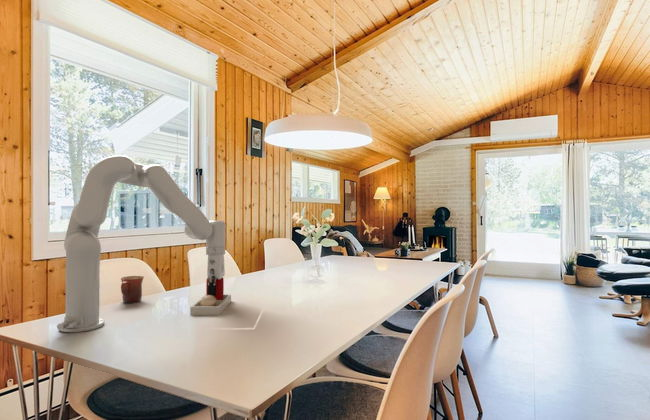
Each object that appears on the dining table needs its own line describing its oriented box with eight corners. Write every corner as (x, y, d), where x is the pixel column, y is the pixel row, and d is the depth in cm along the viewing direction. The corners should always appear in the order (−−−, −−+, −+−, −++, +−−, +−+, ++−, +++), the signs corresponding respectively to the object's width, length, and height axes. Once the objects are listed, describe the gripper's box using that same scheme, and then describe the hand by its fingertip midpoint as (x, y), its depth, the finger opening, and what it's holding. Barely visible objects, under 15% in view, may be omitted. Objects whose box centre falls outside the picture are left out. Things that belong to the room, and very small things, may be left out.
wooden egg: (214, 313, 140) (214, 297, 140) (198, 313, 140) (198, 297, 140) (218, 308, 146) (218, 293, 146) (203, 308, 146) (203, 293, 146)
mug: (127, 299, 164) (127, 275, 164) (147, 299, 163) (147, 275, 163) (111, 306, 152) (111, 280, 152) (132, 306, 151) (133, 280, 151)
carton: (219, 316, 138) (219, 306, 138) (190, 316, 138) (190, 307, 138) (231, 302, 158) (231, 294, 158) (205, 302, 158) (205, 294, 158)
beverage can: (225, 302, 156) (226, 273, 156) (219, 306, 149) (219, 276, 149) (210, 302, 157) (210, 273, 157) (203, 306, 150) (203, 276, 150)
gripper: (219, 253, 144) (219, 297, 144) (229, 248, 162) (229, 288, 162) (200, 253, 144) (199, 297, 144) (211, 248, 161) (211, 288, 161)
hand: (215, 292), depth 153 cm, fingers open, 9 cm apart
